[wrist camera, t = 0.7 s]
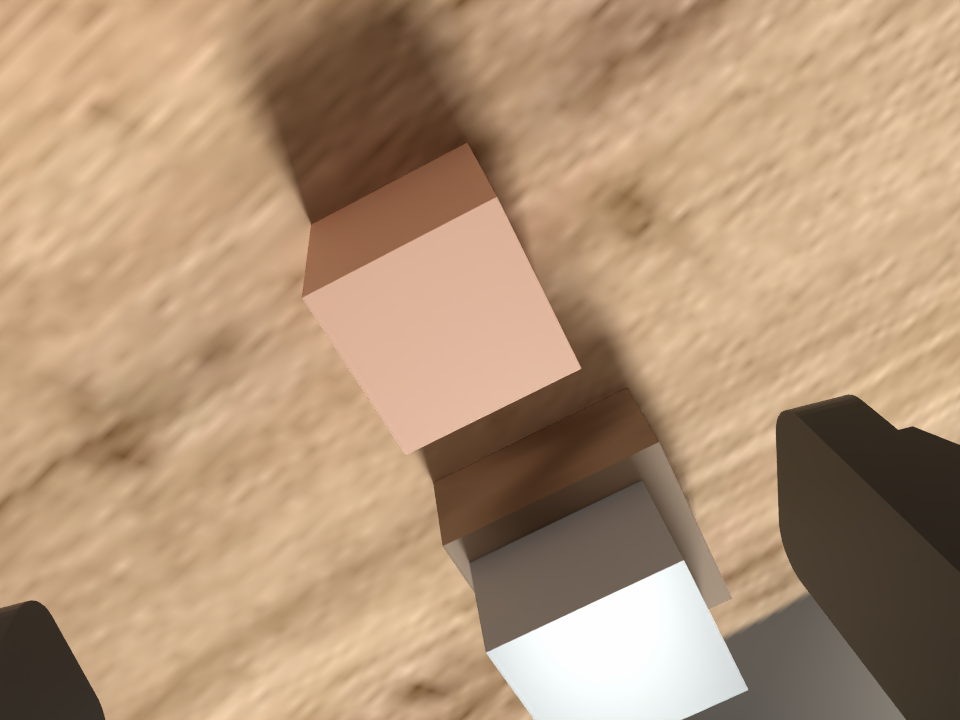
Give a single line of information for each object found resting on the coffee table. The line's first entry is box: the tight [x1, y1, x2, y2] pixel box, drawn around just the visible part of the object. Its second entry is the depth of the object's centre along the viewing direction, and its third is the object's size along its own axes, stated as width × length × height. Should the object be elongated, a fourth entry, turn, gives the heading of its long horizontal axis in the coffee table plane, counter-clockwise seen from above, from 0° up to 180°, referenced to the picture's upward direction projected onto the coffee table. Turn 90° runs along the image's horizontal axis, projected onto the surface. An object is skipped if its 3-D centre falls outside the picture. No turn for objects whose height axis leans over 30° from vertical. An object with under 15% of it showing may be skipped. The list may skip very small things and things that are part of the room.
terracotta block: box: [302, 143, 581, 455], centre depth 25 cm, size 6×6×6 cm
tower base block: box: [433, 388, 732, 609], centre depth 32 cm, size 8×8×4 cm
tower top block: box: [469, 480, 748, 720], centre depth 28 cm, size 6×6×4 cm
